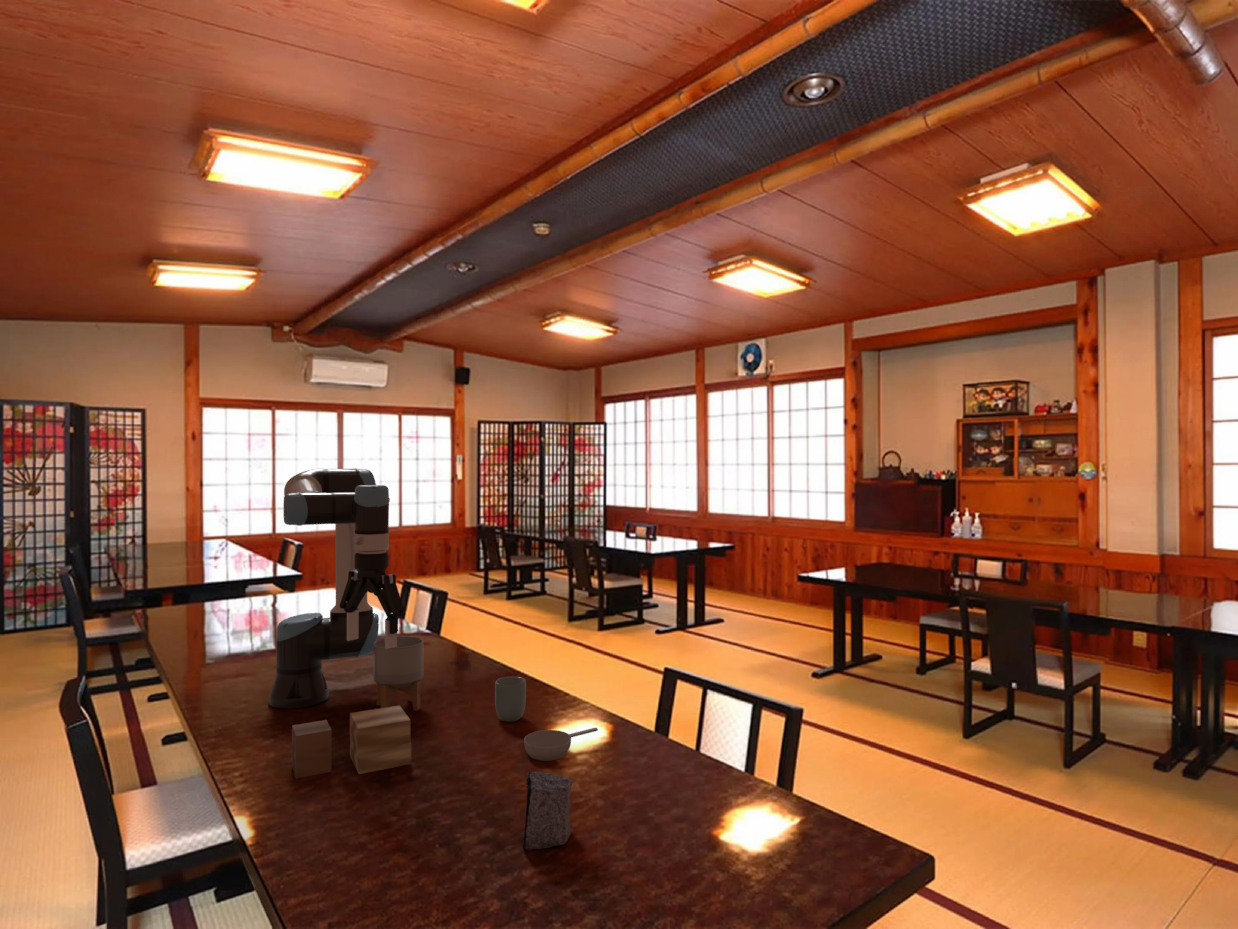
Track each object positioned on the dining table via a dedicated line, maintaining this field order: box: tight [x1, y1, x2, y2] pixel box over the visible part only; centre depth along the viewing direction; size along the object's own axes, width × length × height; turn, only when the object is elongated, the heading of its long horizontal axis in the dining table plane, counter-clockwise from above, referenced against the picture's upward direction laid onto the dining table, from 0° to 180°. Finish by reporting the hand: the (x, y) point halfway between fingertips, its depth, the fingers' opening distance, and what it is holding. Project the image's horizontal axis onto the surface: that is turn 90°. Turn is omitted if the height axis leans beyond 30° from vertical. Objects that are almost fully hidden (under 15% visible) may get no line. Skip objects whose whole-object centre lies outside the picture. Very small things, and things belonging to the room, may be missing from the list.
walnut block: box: [291, 719, 332, 779], centre depth 157 cm, size 7×7×9 cm
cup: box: [494, 676, 527, 723], centre depth 188 cm, size 8×8×10 cm
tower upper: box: [349, 704, 411, 752], centre depth 162 cm, size 11×11×5 cm
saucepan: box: [523, 727, 599, 762], centre depth 168 cm, size 11×18×4 cm, turn 117°
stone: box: [522, 771, 573, 851], centre depth 128 cm, size 12×10×10 cm
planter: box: [373, 635, 424, 711], centre depth 197 cm, size 13×13×18 cm
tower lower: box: [349, 736, 412, 775], centre depth 162 cm, size 11×11×5 cm
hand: (371, 643), depth 167 cm, fingers open, 13 cm apart
